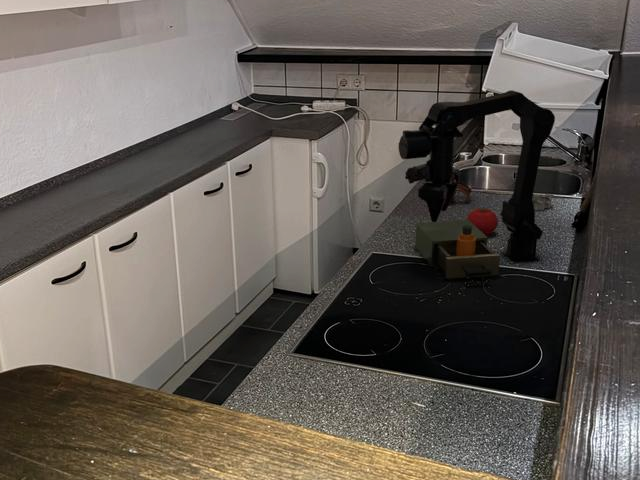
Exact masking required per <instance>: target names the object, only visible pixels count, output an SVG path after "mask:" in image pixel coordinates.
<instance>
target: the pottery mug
mask: <svg viewBox="0 0 640 480" xmlns="http://www.w3.org/2000/svg"><path fill="white" fill-rule="evenodd" d="M454 182H456V180H455V179H454ZM472 191H473V190H472V188H471V187H470V186H468V185H467V184H466V183H464V182H463V181H462V180H461V181H460V182H459V185H458V187H457V189H456V191H455V193H454V195H453V197H452V199H451V201H450V203H451V202H452V201H453V199H454V197H455V196H456V195H457V192H461V193H462V194H464V195H466V199H465V203H469V201H470V199H471V192H472Z"/></svg>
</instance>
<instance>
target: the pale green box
mask: <svg viewBox="0 0 640 480" xmlns="http://www.w3.org/2000/svg"><path fill="white" fill-rule="evenodd" d="M415 225H416V227H415V248H416V250H417V251H418V252H419V253H420V255H421V256H422V257H423V258H424V259H425V261H426V262H427V263H428V265H429V266H430V267H431V268H435V267H440V266H439V265H438V263H437V262H436V261H435V244H439V243H453V242H457V237H458V236H460V233H461V232H462V231H463V226H471V227H472V233H473V234H474V237H475V238H476V241H482V242H483V243H484V244H485V245H486V246H487V247H488V236H487V235H484V234H483V233H482V232H481V231H480V230H479V229H478V228H477V227H476V226H474V225H473V224H472V223H471V222H470V221H469V220H467V219H457V220H443V221H442V220H441V221H440V220H439V221H436V222H432V221H426V222H416V223H415Z"/></svg>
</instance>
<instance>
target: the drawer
mask: <svg viewBox="0 0 640 480" xmlns="http://www.w3.org/2000/svg"><path fill="white" fill-rule="evenodd" d="M456 249H457V242H453V243H439V244H435V261H436V262H437V263H438V265H439V266H438V267H440V268H441V269H442V271H443V272H444V278H445V279H446V280H447V279H458V278H459V279H460V278H461V279H462V278H473V277H487V276H499V273H500V263H501V262H500V261H501V254H500V253H499V252H498V253H495V252H494V251H493V250H492V249H491V248H489V247H488V245H487V246H486V245H485V244H484V243H483V242H482V241H476V247H475V255H468V256H456Z"/></svg>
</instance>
